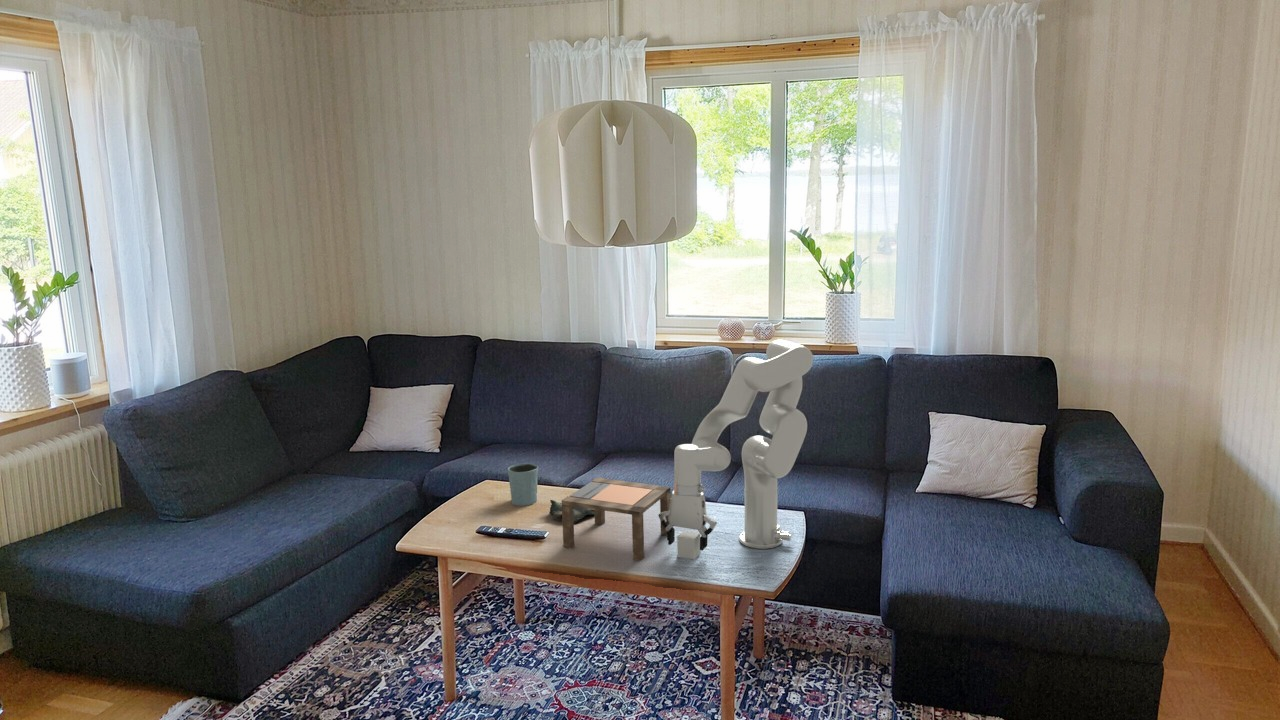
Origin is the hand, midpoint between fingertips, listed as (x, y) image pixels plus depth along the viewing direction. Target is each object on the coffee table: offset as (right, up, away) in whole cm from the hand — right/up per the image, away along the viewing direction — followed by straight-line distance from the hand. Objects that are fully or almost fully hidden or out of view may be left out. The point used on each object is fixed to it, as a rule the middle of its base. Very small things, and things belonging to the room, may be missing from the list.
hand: (687, 546), depth 239 cm
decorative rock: (-34, +2, +35) cm, 49 cm away
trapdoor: (-22, +10, +11) cm, 26 cm away
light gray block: (+1, -3, +1) cm, 3 cm away
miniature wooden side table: (-20, -1, +12) cm, 23 cm away
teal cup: (-53, +5, +47) cm, 71 cm away
